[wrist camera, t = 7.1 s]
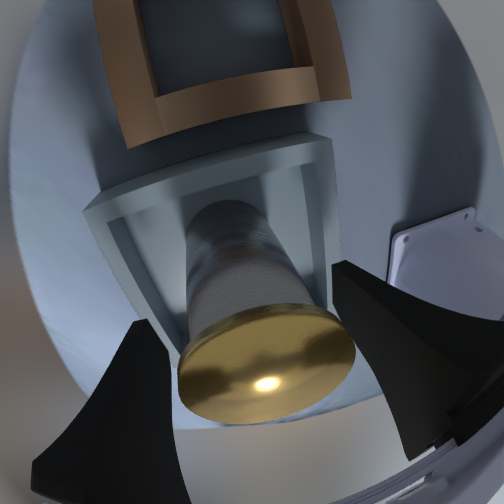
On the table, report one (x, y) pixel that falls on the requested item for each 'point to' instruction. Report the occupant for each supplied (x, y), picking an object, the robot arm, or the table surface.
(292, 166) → the tray
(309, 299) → the jar with gold lid
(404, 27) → the table surface
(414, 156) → the table surface
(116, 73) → the socket block
